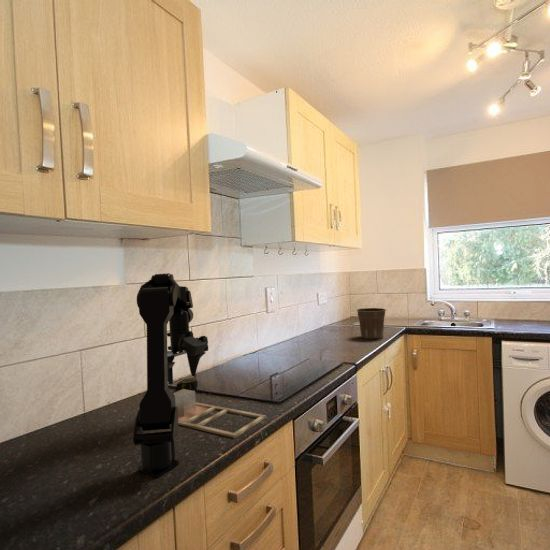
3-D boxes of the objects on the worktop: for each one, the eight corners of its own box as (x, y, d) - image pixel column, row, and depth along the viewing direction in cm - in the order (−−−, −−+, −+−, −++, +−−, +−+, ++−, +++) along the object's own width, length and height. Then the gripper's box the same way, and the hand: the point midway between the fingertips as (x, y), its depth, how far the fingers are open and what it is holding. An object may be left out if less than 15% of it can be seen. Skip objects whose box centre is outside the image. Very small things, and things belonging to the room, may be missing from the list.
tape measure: (183, 387, 142) (182, 377, 142) (200, 387, 141) (200, 377, 141) (175, 393, 135) (175, 383, 135) (193, 393, 134) (193, 383, 134)
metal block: (184, 416, 112) (182, 396, 112) (172, 413, 115) (171, 393, 114) (196, 410, 116) (195, 391, 116) (184, 408, 119) (183, 389, 119)
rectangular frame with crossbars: (234, 438, 96) (234, 435, 96) (149, 417, 113) (149, 415, 113) (266, 417, 108) (266, 415, 108) (184, 401, 125) (184, 399, 125)
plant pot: (390, 335, 220) (388, 307, 219) (383, 340, 206) (381, 311, 205) (362, 334, 228) (361, 307, 228) (354, 339, 214) (352, 311, 214)
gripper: (174, 335, 103) (178, 392, 103) (219, 324, 119) (222, 374, 119) (147, 333, 109) (150, 387, 109) (194, 323, 125) (196, 371, 125)
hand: (182, 379), depth 115 cm, fingers open, 9 cm apart
